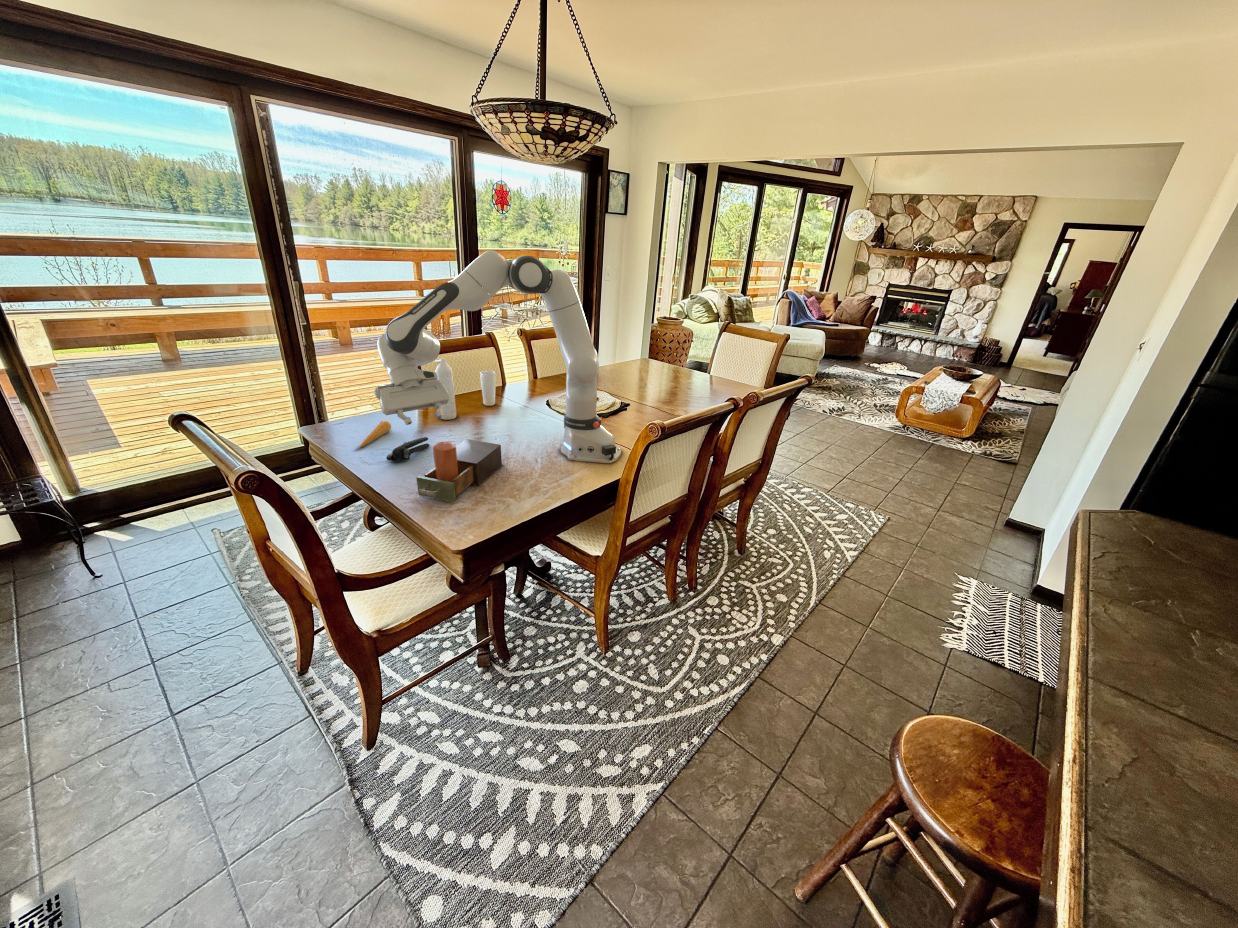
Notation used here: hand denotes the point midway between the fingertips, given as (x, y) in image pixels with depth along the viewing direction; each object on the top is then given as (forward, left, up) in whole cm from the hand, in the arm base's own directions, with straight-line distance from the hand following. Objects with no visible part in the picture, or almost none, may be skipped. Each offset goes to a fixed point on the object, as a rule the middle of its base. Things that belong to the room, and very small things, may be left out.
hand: (424, 420), depth 146 cm
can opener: (+15, -12, -19) cm, 27 cm away
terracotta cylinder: (-11, +6, -17) cm, 21 cm away
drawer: (-10, +8, -18) cm, 22 cm away
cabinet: (-10, -8, -19) cm, 23 cm away
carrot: (+36, -18, -19) cm, 45 cm away
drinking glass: (+18, -71, -19) cm, 75 cm away
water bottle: (+25, -48, -19) cm, 57 cm away
